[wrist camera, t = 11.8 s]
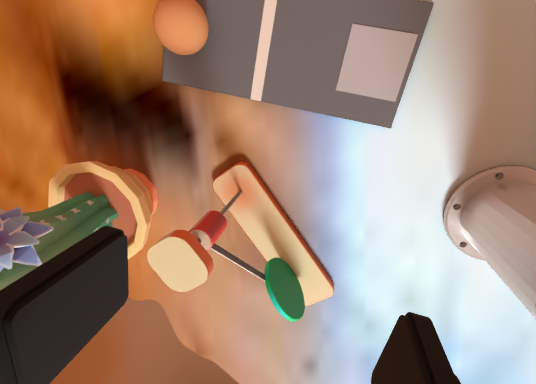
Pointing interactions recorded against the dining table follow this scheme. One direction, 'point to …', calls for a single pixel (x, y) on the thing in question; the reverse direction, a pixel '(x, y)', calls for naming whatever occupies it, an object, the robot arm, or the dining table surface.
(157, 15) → the ball
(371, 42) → the mat
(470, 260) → the dining table surface
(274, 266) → the crank mechanism
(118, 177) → the potted cactus
